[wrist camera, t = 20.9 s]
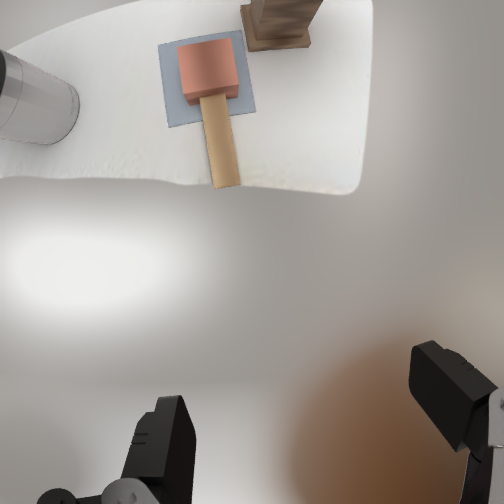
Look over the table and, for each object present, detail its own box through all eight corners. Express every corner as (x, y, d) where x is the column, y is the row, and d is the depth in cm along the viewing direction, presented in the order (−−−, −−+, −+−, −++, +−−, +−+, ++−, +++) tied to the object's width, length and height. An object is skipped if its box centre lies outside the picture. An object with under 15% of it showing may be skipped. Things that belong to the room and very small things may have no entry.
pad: (168, 127, 37) (168, 127, 37) (158, 45, 35) (157, 45, 34) (255, 111, 38) (256, 111, 37) (240, 30, 35) (240, 30, 35)
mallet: (203, 190, 39) (199, 192, 33) (183, 64, 35) (176, 47, 30) (251, 182, 39) (255, 182, 34) (230, 56, 36) (230, 37, 30)
